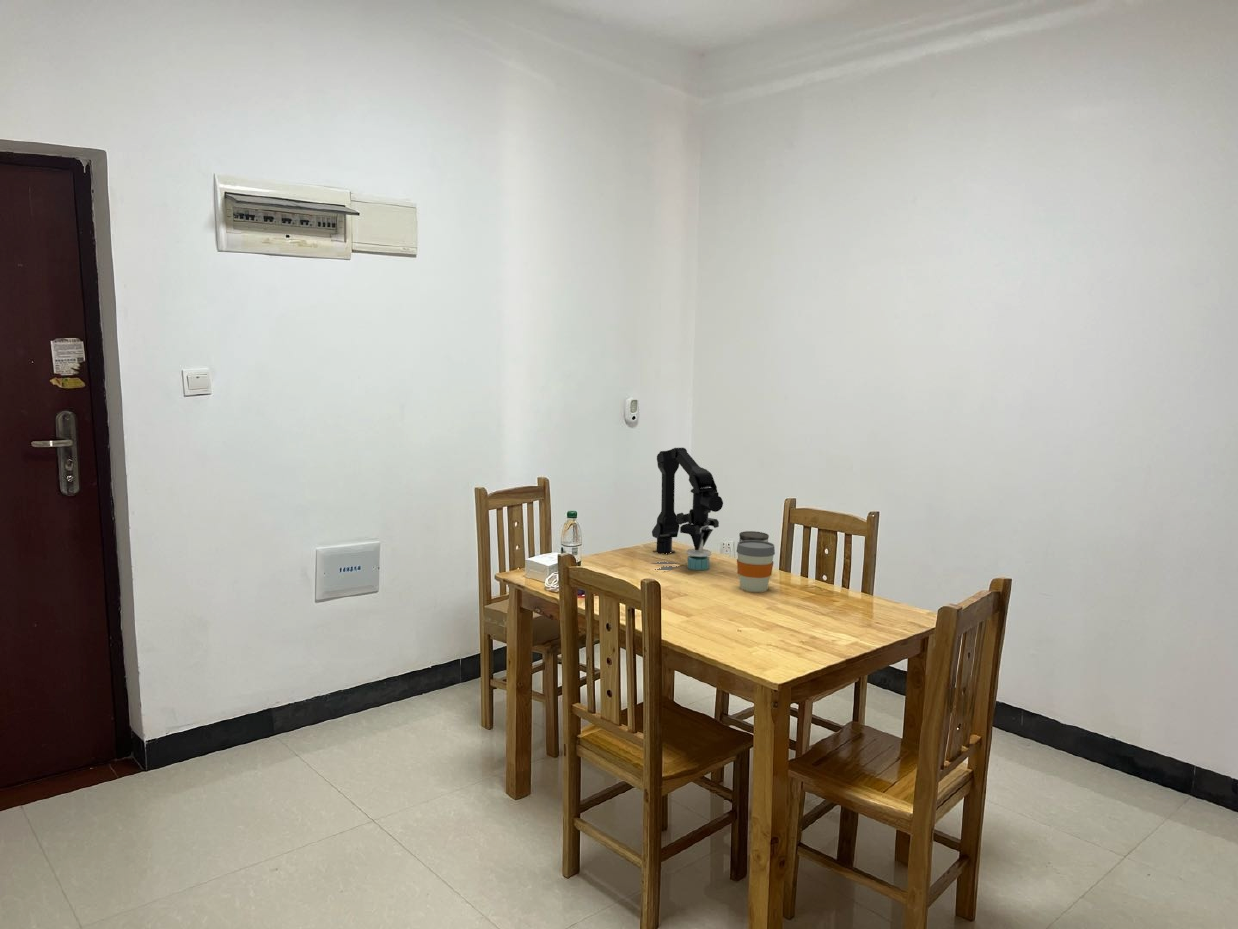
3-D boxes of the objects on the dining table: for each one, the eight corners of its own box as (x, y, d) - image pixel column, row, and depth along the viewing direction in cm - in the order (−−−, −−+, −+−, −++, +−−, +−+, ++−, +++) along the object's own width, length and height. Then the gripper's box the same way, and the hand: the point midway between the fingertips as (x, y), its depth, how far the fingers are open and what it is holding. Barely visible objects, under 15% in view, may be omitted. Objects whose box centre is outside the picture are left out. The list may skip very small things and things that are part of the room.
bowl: (693, 564, 315) (694, 554, 315) (712, 568, 311) (713, 557, 310) (683, 568, 309) (683, 558, 308) (702, 572, 304) (702, 561, 304)
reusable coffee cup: (771, 584, 291) (773, 540, 289) (774, 594, 279) (776, 549, 277) (734, 582, 293) (736, 539, 291) (735, 592, 280) (737, 547, 278)
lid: (693, 549, 315) (694, 535, 314) (715, 553, 310) (716, 538, 310) (681, 554, 308) (682, 539, 307) (703, 558, 303) (704, 543, 302)
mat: (660, 561, 319) (660, 560, 318) (683, 565, 313) (683, 564, 313) (639, 568, 307) (639, 567, 307) (663, 573, 301) (663, 572, 301)
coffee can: (748, 578, 299) (749, 538, 297) (732, 570, 308) (733, 532, 306) (772, 575, 303) (774, 536, 301) (756, 568, 312) (758, 530, 311)
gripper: (693, 500, 319) (691, 541, 321) (667, 507, 303) (666, 550, 306) (720, 504, 313) (718, 546, 315) (695, 511, 297) (693, 555, 299)
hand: (698, 549), depth 309 cm, fingers closed on lid, 3 cm apart
